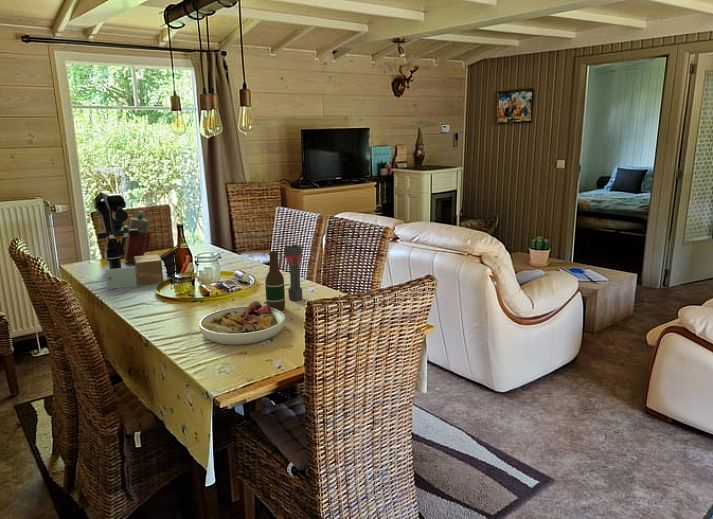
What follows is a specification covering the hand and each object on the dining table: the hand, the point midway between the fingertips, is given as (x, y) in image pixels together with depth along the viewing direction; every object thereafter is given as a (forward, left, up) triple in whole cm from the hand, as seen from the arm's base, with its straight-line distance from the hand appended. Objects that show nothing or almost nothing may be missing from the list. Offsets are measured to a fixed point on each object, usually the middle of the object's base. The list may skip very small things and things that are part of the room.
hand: (120, 250), depth 268 cm
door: (+23, -1, -13) cm, 26 cm away
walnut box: (+14, +11, -13) cm, 22 cm away
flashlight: (+76, +64, -13) cm, 100 cm away
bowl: (+105, +34, -14) cm, 111 cm away
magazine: (+10, +24, -13) cm, 29 cm away
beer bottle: (+87, +52, -13) cm, 102 cm away
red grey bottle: (-31, +8, -13) cm, 34 cm away
